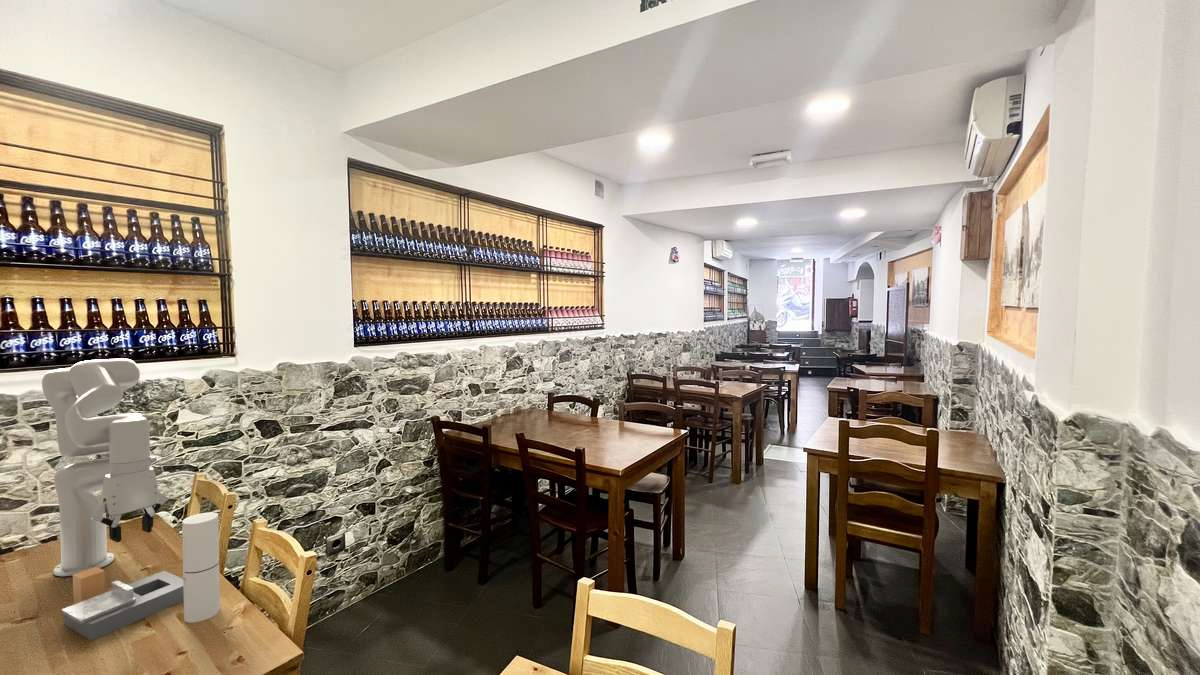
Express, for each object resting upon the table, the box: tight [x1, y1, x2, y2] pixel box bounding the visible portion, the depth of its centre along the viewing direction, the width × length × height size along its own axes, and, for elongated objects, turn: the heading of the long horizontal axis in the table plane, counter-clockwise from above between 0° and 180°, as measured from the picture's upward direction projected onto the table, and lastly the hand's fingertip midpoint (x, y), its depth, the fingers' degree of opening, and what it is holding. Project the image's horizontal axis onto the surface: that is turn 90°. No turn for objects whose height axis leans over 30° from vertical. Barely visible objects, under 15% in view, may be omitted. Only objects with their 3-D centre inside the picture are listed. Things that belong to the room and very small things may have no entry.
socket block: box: [63, 570, 184, 642], centre depth 126 cm, size 14×20×4 cm
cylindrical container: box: [181, 511, 221, 624], centre depth 125 cm, size 7×7×25 cm
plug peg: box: [72, 567, 106, 605], centre depth 129 cm, size 5×5×8 cm
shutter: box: [61, 580, 136, 624], centre depth 121 cm, size 10×10×3 cm
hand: (131, 535), depth 126 cm, fingers open, 5 cm apart
